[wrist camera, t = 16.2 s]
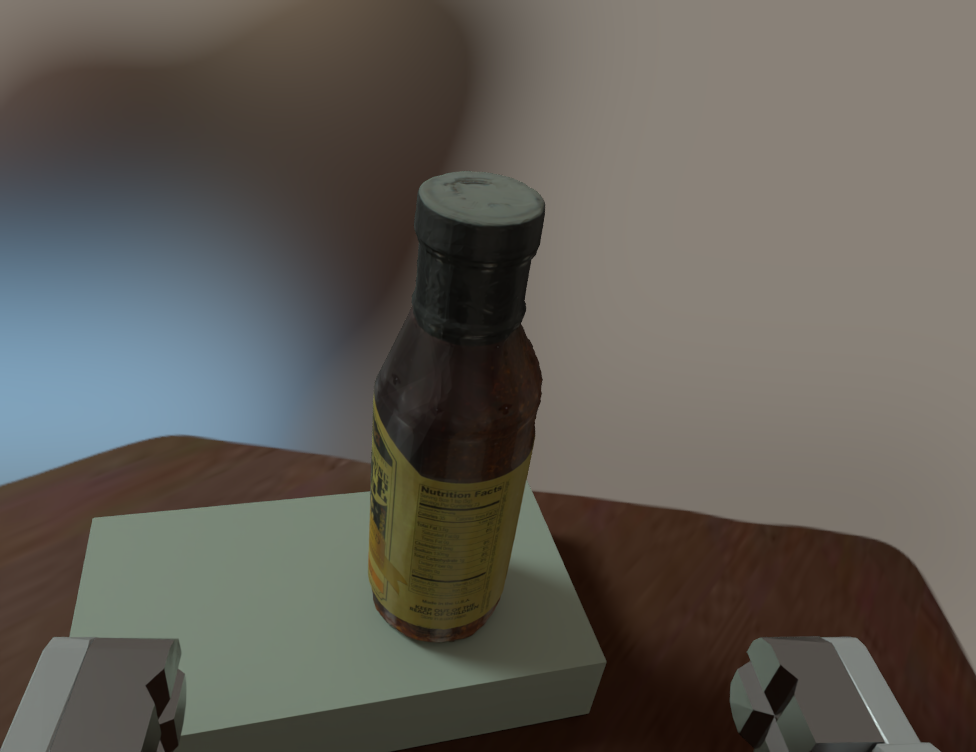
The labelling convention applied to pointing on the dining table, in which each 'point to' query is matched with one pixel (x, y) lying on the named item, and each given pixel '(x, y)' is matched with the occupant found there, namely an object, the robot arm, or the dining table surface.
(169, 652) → the robot arm
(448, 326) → the sauce bottle
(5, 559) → the dining table surface
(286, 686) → the pale green rectangular block
